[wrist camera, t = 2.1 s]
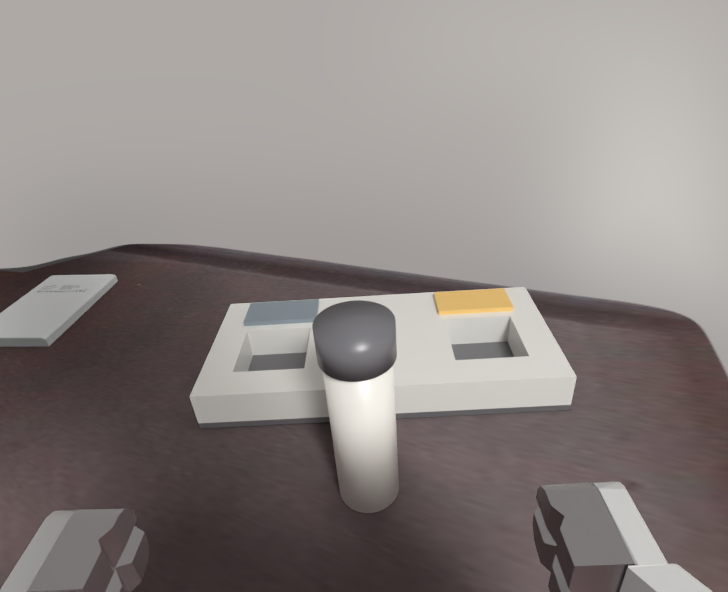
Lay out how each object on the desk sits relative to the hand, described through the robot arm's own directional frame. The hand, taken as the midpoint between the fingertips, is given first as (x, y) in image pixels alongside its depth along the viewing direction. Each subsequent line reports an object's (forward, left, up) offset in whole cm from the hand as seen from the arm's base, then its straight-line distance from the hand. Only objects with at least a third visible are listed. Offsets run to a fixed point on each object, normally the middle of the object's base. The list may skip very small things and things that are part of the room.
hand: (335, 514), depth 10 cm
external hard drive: (-33, +37, -17) cm, 52 cm away
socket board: (+1, +25, -16) cm, 30 cm away
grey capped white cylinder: (0, +13, -16) cm, 21 cm away
